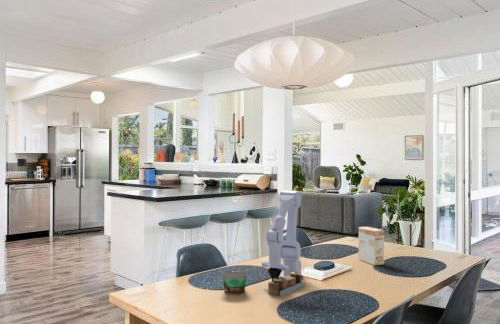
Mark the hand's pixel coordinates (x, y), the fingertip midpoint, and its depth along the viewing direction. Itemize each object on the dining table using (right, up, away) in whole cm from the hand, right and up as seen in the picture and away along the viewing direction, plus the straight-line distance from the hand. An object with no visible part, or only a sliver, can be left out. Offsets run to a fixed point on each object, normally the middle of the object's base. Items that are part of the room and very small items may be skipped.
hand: (275, 283), depth 203 cm
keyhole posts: (+5, -1, -4) cm, 6 cm away
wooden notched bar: (+5, -1, -4) cm, 6 cm away
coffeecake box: (+58, 0, +45) cm, 74 cm away
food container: (-18, -2, -8) cm, 20 cm away
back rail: (+8, -1, -6) cm, 10 cm away
